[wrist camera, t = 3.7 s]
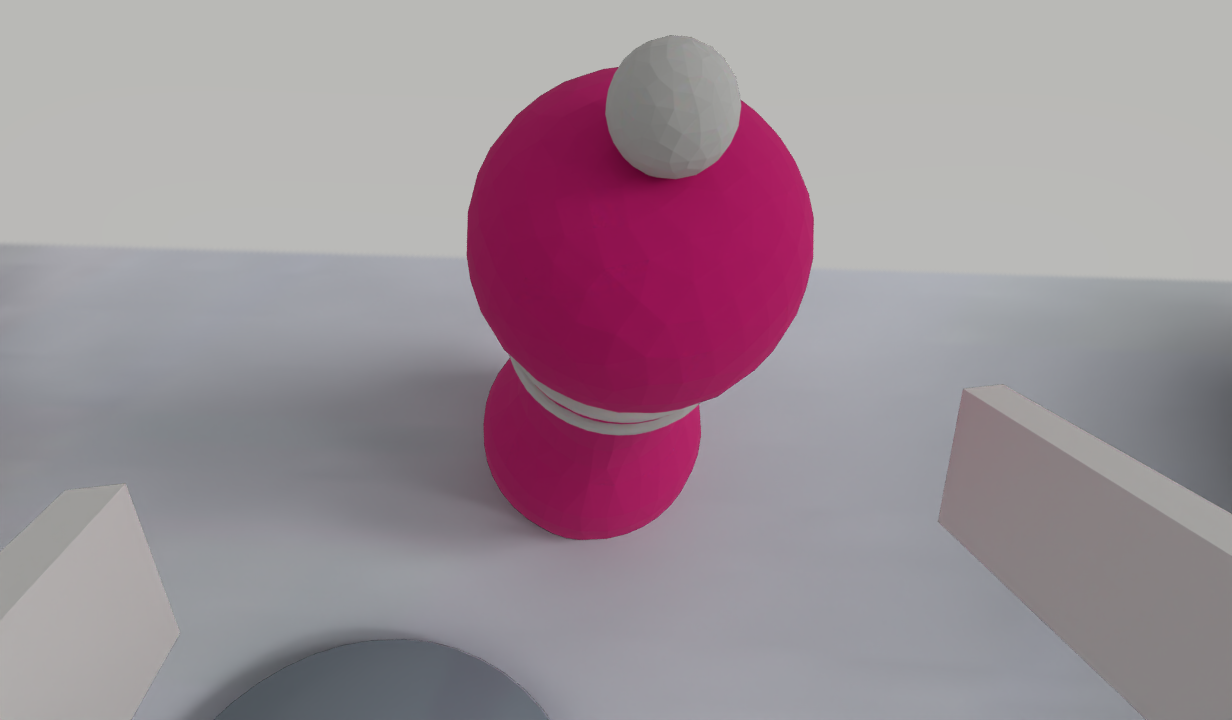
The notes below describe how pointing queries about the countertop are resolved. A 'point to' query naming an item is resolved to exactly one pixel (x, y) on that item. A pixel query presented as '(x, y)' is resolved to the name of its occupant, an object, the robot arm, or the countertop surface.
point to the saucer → (387, 687)
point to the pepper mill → (629, 280)
